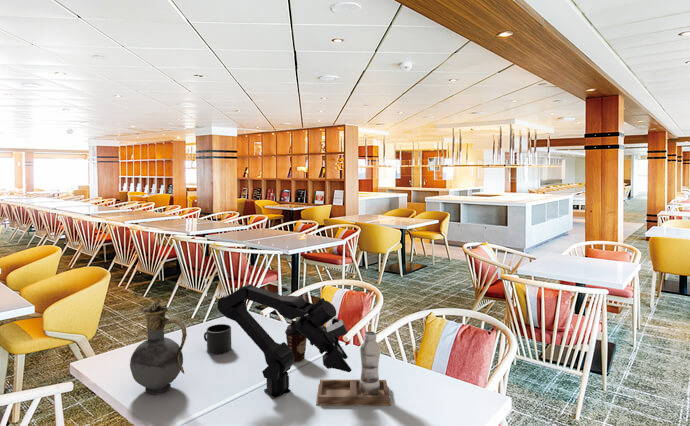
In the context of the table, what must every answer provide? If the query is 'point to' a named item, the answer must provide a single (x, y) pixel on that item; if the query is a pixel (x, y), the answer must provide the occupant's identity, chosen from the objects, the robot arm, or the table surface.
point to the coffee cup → (296, 343)
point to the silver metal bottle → (369, 365)
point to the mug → (218, 339)
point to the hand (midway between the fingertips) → (348, 364)
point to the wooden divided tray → (350, 394)
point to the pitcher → (157, 352)
